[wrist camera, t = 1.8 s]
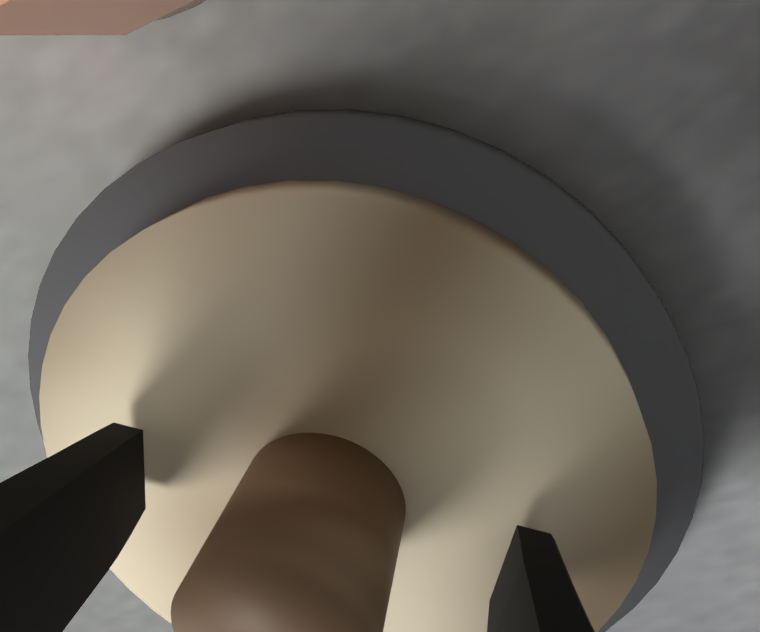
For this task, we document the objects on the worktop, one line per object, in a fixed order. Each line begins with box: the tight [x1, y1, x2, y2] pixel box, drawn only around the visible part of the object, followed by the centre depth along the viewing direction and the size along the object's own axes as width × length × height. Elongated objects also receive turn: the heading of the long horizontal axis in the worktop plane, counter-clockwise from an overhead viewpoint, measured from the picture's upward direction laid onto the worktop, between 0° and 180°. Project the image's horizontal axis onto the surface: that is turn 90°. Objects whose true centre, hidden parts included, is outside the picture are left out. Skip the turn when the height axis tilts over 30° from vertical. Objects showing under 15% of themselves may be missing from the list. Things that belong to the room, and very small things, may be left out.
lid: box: [39, 180, 657, 632], centre depth 11 cm, size 12×12×4 cm
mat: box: [28, 110, 704, 632], centre depth 13 cm, size 14×14×1 cm
